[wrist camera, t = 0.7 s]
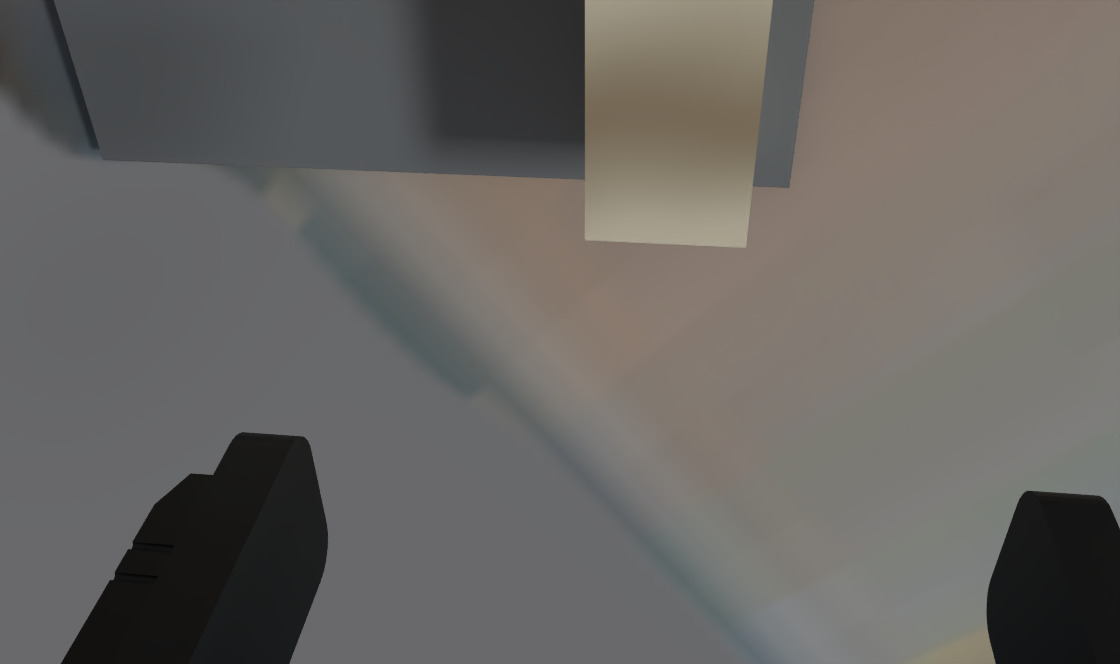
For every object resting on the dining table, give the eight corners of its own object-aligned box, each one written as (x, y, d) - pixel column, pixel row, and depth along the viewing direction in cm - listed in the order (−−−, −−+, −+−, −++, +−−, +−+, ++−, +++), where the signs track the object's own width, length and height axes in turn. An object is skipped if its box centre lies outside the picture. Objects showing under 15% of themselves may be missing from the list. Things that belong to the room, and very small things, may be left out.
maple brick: (604, -111, 22) (584, -47, 19) (765, -109, 22) (777, -43, 18) (601, 144, 26) (584, 240, 22) (740, 149, 25) (745, 247, 22)
